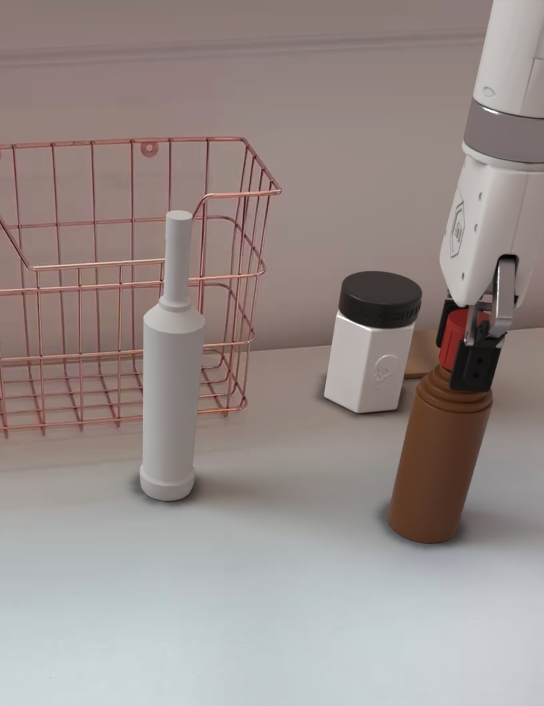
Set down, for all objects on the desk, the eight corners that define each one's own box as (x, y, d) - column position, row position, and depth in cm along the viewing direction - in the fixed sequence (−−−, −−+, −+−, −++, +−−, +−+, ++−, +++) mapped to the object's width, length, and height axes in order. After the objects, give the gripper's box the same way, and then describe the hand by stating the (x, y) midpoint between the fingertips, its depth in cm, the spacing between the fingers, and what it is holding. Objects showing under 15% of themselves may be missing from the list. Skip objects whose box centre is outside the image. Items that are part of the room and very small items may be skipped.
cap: (435, 368, 82) (445, 325, 80) (441, 347, 85) (451, 305, 83) (484, 377, 82) (496, 334, 79) (488, 356, 84) (500, 314, 82)
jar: (337, 417, 107) (356, 307, 99) (310, 379, 113) (326, 272, 105) (416, 409, 109) (440, 301, 101) (385, 373, 115) (406, 267, 107)
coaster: (447, 333, 123) (448, 328, 123) (483, 373, 116) (484, 368, 116) (369, 337, 121) (370, 333, 121) (400, 379, 114) (401, 374, 114)
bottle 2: (440, 499, 97) (491, 306, 84) (468, 540, 92) (526, 342, 80) (377, 505, 96) (418, 310, 83) (402, 546, 91) (450, 347, 78)
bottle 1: (142, 468, 98) (150, 200, 81) (196, 474, 98) (215, 206, 81) (135, 499, 94) (141, 224, 78) (191, 505, 94) (209, 230, 77)
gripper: (447, 93, 78) (402, 318, 90) (489, 170, 65) (430, 420, 77) (546, 100, 78) (487, 323, 90) (607, 177, 65) (529, 426, 77)
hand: (461, 366), depth 83 cm, fingers open, 6 cm apart
